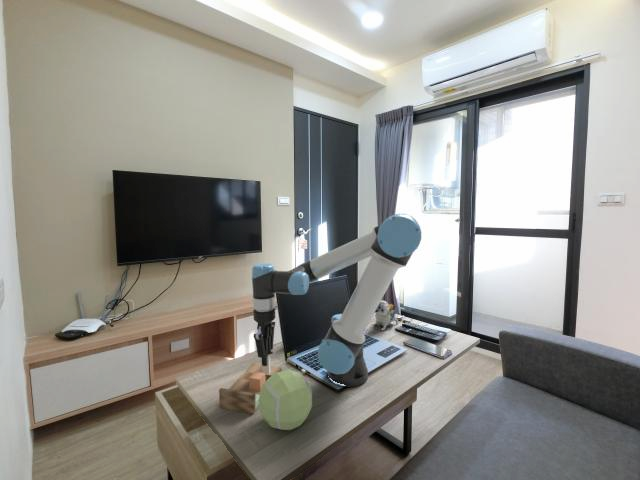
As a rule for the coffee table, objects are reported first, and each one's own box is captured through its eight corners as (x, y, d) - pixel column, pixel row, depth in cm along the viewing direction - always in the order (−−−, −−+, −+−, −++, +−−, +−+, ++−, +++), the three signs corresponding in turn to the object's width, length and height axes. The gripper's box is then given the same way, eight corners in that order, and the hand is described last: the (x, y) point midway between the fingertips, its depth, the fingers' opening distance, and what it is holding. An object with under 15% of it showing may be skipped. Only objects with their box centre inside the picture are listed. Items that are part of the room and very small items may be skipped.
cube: (265, 384, 104) (265, 373, 104) (260, 391, 100) (260, 379, 100) (255, 382, 105) (254, 371, 105) (249, 389, 101) (249, 377, 101)
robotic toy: (365, 328, 159) (365, 300, 157) (383, 319, 171) (384, 293, 170) (386, 335, 150) (386, 305, 148) (404, 325, 162) (404, 297, 161)
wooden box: (282, 375, 115) (281, 359, 115) (254, 413, 94) (253, 395, 93) (253, 371, 118) (252, 356, 118) (219, 407, 97) (219, 389, 96)
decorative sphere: (274, 451, 79) (272, 396, 78) (252, 418, 92) (250, 371, 90) (322, 427, 88) (321, 378, 86) (296, 400, 100) (295, 356, 98)
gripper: (262, 302, 114) (264, 362, 116) (245, 313, 101) (248, 381, 104) (281, 303, 112) (283, 364, 114) (266, 315, 99) (268, 384, 102)
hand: (266, 372), depth 109 cm, fingers closed
